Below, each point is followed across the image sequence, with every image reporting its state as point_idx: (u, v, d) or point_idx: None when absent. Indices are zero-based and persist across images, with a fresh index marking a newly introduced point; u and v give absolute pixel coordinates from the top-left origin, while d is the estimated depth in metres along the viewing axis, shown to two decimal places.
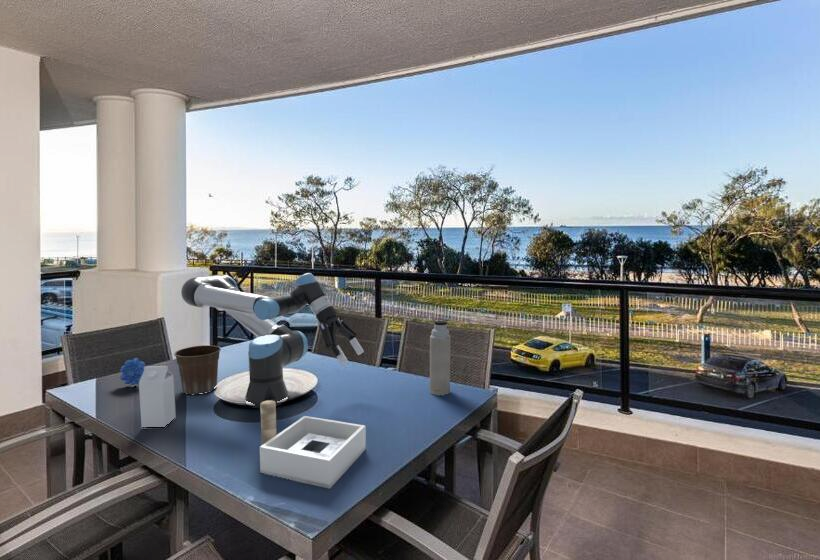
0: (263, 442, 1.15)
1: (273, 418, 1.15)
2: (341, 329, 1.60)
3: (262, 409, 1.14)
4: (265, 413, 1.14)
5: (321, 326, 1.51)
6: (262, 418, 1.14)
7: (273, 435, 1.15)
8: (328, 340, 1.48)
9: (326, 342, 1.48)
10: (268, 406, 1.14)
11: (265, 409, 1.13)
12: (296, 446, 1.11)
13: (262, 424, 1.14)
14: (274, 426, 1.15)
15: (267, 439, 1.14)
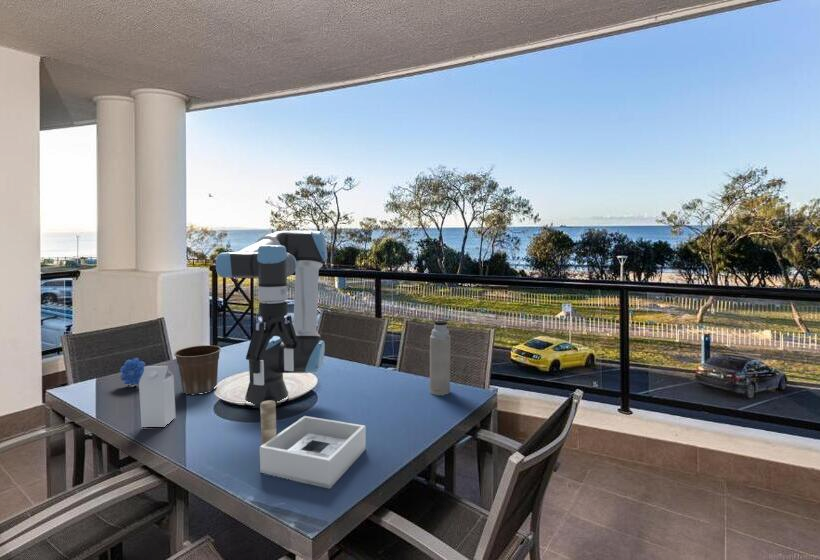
0: (263, 442, 1.15)
1: (273, 418, 1.15)
2: (281, 333, 1.18)
3: (262, 409, 1.14)
4: (265, 413, 1.14)
5: (256, 326, 1.08)
6: (262, 418, 1.14)
7: (273, 435, 1.15)
8: (253, 350, 1.06)
9: (250, 351, 1.06)
10: (267, 406, 1.14)
11: (265, 409, 1.13)
12: (296, 446, 1.11)
13: (262, 424, 1.14)
14: (274, 426, 1.15)
15: (267, 439, 1.14)
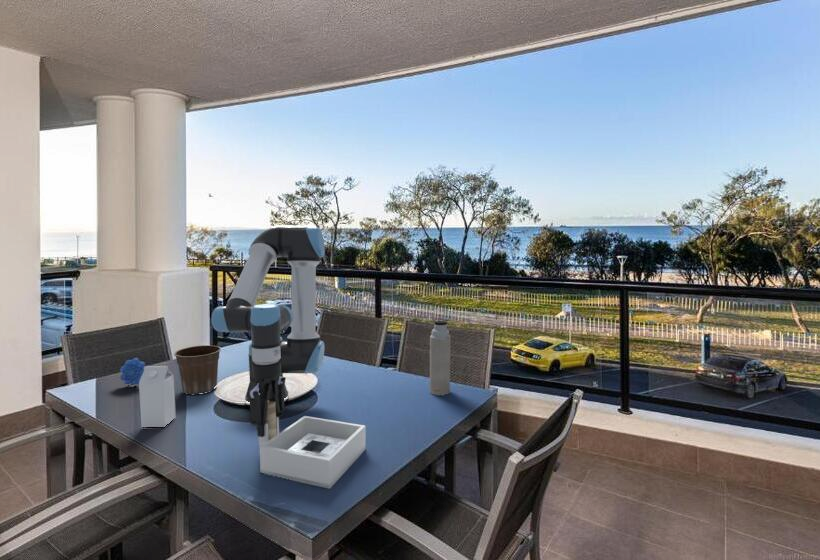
0: None
1: (273, 418, 1.15)
2: (272, 394, 1.16)
3: None
4: None
5: (250, 395, 1.09)
6: None
7: (273, 435, 1.15)
8: (256, 418, 1.10)
9: (253, 418, 1.10)
10: (268, 406, 1.14)
11: None
12: (296, 446, 1.11)
13: None
14: (274, 426, 1.15)
15: None
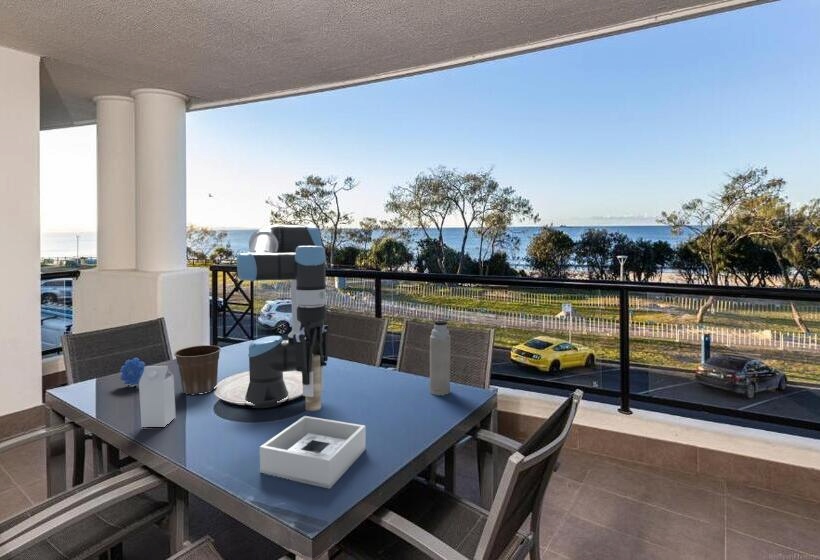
0: (307, 397, 1.08)
1: (318, 371, 1.08)
2: (316, 342, 1.10)
3: None
4: None
5: (296, 338, 1.03)
6: None
7: (318, 390, 1.09)
8: (302, 363, 1.04)
9: (298, 364, 1.04)
10: (313, 359, 1.07)
11: None
12: (296, 446, 1.11)
13: None
14: (319, 380, 1.09)
15: None
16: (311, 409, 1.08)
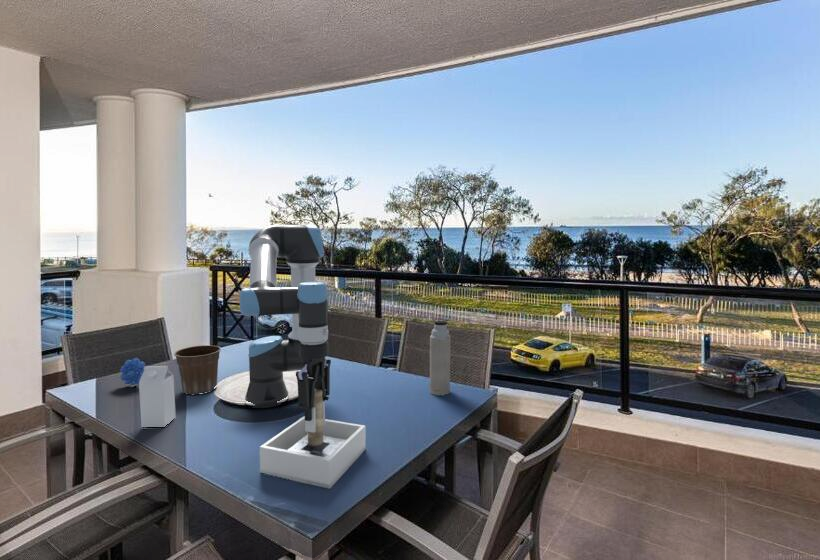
0: (310, 432, 1.09)
1: (320, 407, 1.09)
2: (318, 377, 1.11)
3: None
4: None
5: (299, 376, 1.03)
6: None
7: (320, 425, 1.10)
8: (304, 401, 1.04)
9: (301, 401, 1.05)
10: (315, 395, 1.08)
11: None
12: (296, 446, 1.11)
13: None
14: (321, 416, 1.10)
15: None
16: (313, 444, 1.09)
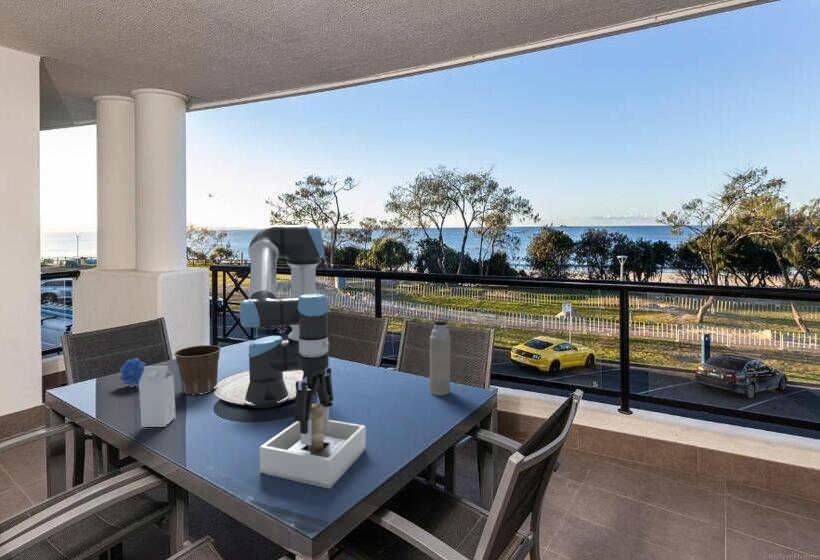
0: (310, 447, 1.10)
1: (320, 422, 1.10)
2: (320, 387, 1.12)
3: (310, 412, 1.09)
4: (313, 417, 1.09)
5: (298, 386, 1.03)
6: None
7: (320, 440, 1.10)
8: (300, 412, 1.03)
9: (297, 413, 1.03)
10: (316, 409, 1.09)
11: (313, 412, 1.09)
12: (296, 446, 1.11)
13: None
14: (322, 430, 1.10)
15: (315, 444, 1.09)
16: None
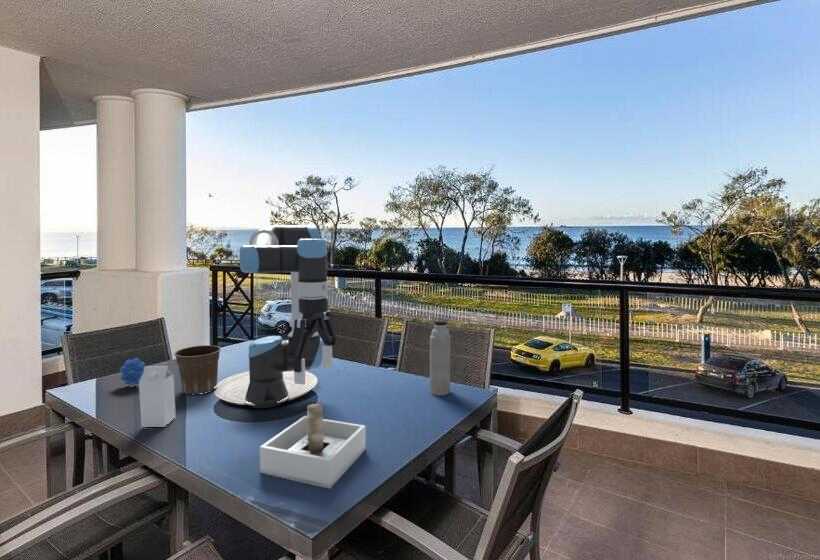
0: (310, 447, 1.10)
1: (320, 422, 1.10)
2: (321, 330, 1.14)
3: (309, 413, 1.09)
4: (313, 417, 1.09)
5: (297, 323, 1.04)
6: (309, 422, 1.09)
7: (320, 440, 1.10)
8: (295, 349, 1.02)
9: (291, 349, 1.02)
10: (315, 410, 1.09)
11: (312, 412, 1.09)
12: (296, 446, 1.11)
13: (309, 428, 1.09)
14: (321, 430, 1.10)
15: (314, 444, 1.09)
16: None
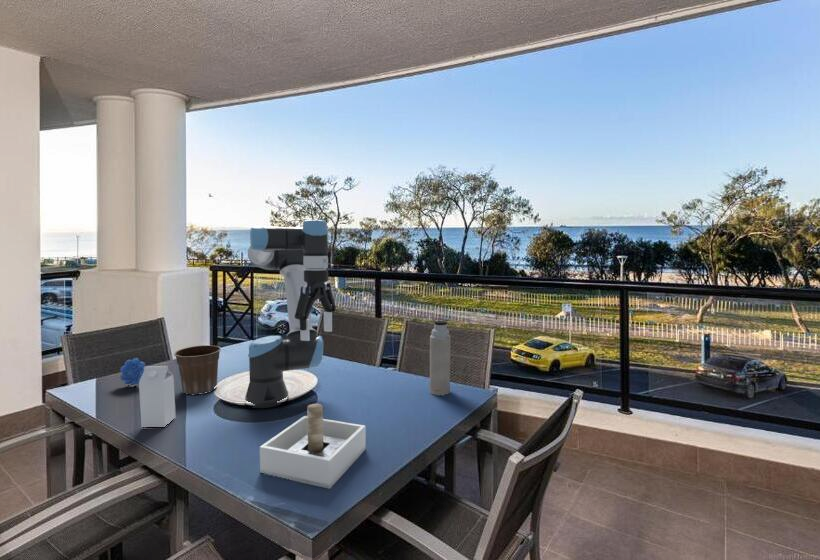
0: (310, 447, 1.10)
1: (320, 422, 1.10)
2: (322, 298, 1.35)
3: (309, 413, 1.09)
4: (313, 417, 1.09)
5: (303, 289, 1.25)
6: (309, 422, 1.09)
7: (320, 440, 1.10)
8: (301, 310, 1.23)
9: (298, 311, 1.23)
10: (315, 410, 1.09)
11: (312, 412, 1.09)
12: (296, 446, 1.11)
13: (309, 428, 1.09)
14: (321, 430, 1.10)
15: (314, 444, 1.09)
16: None
